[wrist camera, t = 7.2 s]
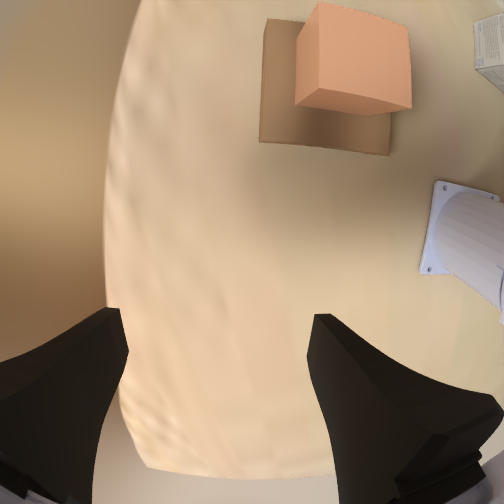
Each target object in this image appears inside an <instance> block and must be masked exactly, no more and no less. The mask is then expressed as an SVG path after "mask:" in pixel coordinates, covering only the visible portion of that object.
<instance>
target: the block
mask: <svg viewBox="0 0 504 504" xmlns="http://www.w3.org/2000/svg"><path fill="white" fill-rule="evenodd" d="M295 106H303V107H311V108H319V109H326V110H333V111H339V112H345V113H351V114H356V115H361V116H366V117H367V116H372V115H377V114H383V113H388V112H394V111H400V110H406V109H412V87H411V64H410V50H409V39H408V30H407V27H406V26H403V25H400V24H398V23H395V22H392V21H390V20H387V19H384V18H381V17H378V16H375V15H371V14H368V13H365V12H361V11H358V10H354V9H350V8H346V7H342V6H338V5H333V4H329V3H324V2H318V3H317V5H316V6H315V8H314V10H313V11H312V13H311V15H310V16H309V18H308V20H307V21H306V23H305V25H304V26H303V28H302V30H301V31H300V33H299V35H298V37H297V46H296V86H295Z"/></svg>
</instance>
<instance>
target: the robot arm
mask: <svg viewBox="0 0 504 504" xmlns="http://www.w3.org/2000/svg"><path fill="white" fill-rule="evenodd" d="M443 186H444V187H445V188H444V190H443ZM428 268H429V269H428ZM427 269H428V270H427ZM419 272H420V273H421V274H423V275H434V274H453V275H454V276H456V277H457V278H458V279H460V280H461V281H462V282H464V283H465V284H467V285H468V286H469V287H471V288H472V289H473V290H475V291H476V292H477V293H478V294H480V295H481V296H482V297H484V298H485V299H486V300H487V301H489V302H490V303H491V304H493V305H494V306H495V307H496V308H498V309H499V310H500V311H501V312H502V314H501V318H500V323H501V324H502V325H504V203H501V202H500V197H499V196H498V195H495V194H492V193H488V192H485V191H481V190H477V189H474V188H470V187H466V186H462V185H457V184H453V183H449V182H444V181H440V180H437V181H436V182H435V184H434V191H433V199H432V206H431V212H430V218H429V224H428V229H427V234H426V240H425V244H424V249H423V254H422V258H421V262H420V266H419ZM128 353H129V349H128V345H127V341H126V337H125V332H124V328H123V323H122V319H121V314H120V309H119V308H108V307H105V308H103V309H101V310H99V311H97V312H96V313H94V314H92V315H91V316H89V317H87V318H86V319H84V320H83V321H82V322H80V323H78V324H76V325H75V326H73V327H72V328H70V329H69V330H67V331H66V332H64V333H62V334H60V335H59V336H57V337H55V338H54V339H52V340H50V341H48V342H47V343H45V344H43V345H41V346H39V347H37V348H35V349H33V350H31V351H29V352H27V353H25V354H22V355H20V356H17V357H14V358H11V359H9V360H6V361H3V362H0V504H92V483H93V473H94V465H95V458H96V453H97V447H98V442H99V438H100V433H101V429H102V425H103V422H104V418H105V416H106V413H107V411H108V408H109V406H110V403H111V401H112V398H113V396H114V394H115V391H116V389H117V386H118V384H119V382H120V379H121V377H122V374H123V372H124V368H125V365H126V361H127V357H128ZM307 362H308V367H309V372H310V377H311V381H312V384H313V387H314V390H315V393H316V396H317V399H318V402H319V405H320V408H321V411H322V413H323V416H324V419H325V422H326V425H327V429H328V433H329V437H330V442H331V447H332V452H333V457H334V464H335V470H336V477H337V485H338V493H339V504H504V450H503V451H502V452H500V453H499V454H497V455H496V456H494V457H493V458H492V459H490V460H489V461H487V462H486V463H485V464H483V465H482V466H480V464H479V462H478V461H479V460H480V459H481V458H482V454H481V453H480V451H479V448H480V447H481V446H482V445H483V444H484V443H485V442H486V441H487V440H488V438H489V437H490V436H491V435H492V434H493V433H494V431H495V430H496V429H497V428H498V426H499V425H500V423H501V422H502V419H503V417H504V411H503V409H502V408H501V406H500V405H499V404H498V402H497V401H496V400H495V398H494V397H493V396H492V395H490V394H485V393H479V392H474V391H469V390H464V389H461V388H457V387H454V386H450V385H447V384H444V383H441V382H439V381H436V380H434V379H431V378H429V377H426V376H424V375H422V374H419V373H417V372H415V371H413V370H411V369H409V368H407V367H406V366H404V365H402V364H400V363H398V362H396V361H395V360H393V359H392V358H390V357H388V356H387V355H385V354H384V353H382V352H381V351H379V350H378V349H376V348H375V347H374V346H372V345H371V344H369V343H368V342H367V341H365V340H364V339H363V338H361V337H360V336H359V335H357V334H356V333H355V332H354V331H352V330H351V329H350V328H349V327H347V326H346V325H345V324H344V323H342V322H341V321H340V320H338V319H337V318H336V317H335V316H333V315H332V314H315V315H314V321H313V326H312V332H311V337H310V342H309V347H308V352H307Z"/></svg>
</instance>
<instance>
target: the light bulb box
mask: <svg viewBox="0 0 504 504" xmlns="http://www.w3.org/2000/svg"><path fill="white" fill-rule="evenodd" d="M473 27H474V41H475V69H476V70H477V71H478V72H480V73H481V74H482V75H483V76H485V77H486V78H487V79H488V80H490V81H491V82H492V83H493V84H494V85H495V86H497V87H498V88H499V89H500V90H501V91H502V92H503V93H504V13H501V14H498V15H494V16H491V17H488V18H485V19H482V20H479V21H477V22H474V23H473Z"/></svg>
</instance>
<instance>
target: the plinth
mask: <svg viewBox="0 0 504 504" xmlns="http://www.w3.org/2000/svg"><path fill="white" fill-rule="evenodd" d="M304 25H305V23H302V22H295V21H287V20H278V19H267V22H266V26H265V30H264V38H263V61H262V83H261V105H260V127H259V142H264V143H280V144H293V145H304V146H314V147H323V148H332V149H340V150H347V151H354V152H361V153H367V154H375V155H386V156H389V147H390V129H391V112H388V113H383V114H377V115H372V116H367V117H366V116H361V115H356V114H351V113H345V112H339V111H333V110H326V109H319V108H311V107H303V106H295V86H296V46H297V37H298V35H299V33H300V31H301V30H302V28H303V26H304Z"/></svg>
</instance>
